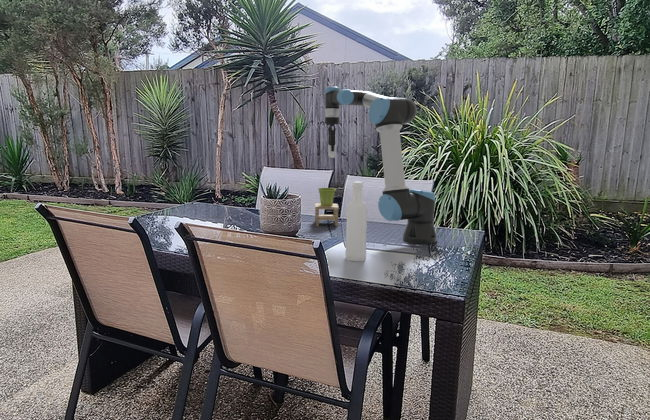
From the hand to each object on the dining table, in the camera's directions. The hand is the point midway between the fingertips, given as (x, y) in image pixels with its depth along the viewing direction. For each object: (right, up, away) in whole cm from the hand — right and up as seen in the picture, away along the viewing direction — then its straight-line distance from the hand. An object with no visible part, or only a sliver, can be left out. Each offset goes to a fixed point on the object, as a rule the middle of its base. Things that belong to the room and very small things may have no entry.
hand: (331, 156), depth 235 cm
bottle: (+8, -48, -67) cm, 83 cm away
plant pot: (-3, -27, -7) cm, 28 cm away
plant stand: (-3, -36, -6) cm, 37 cm away
